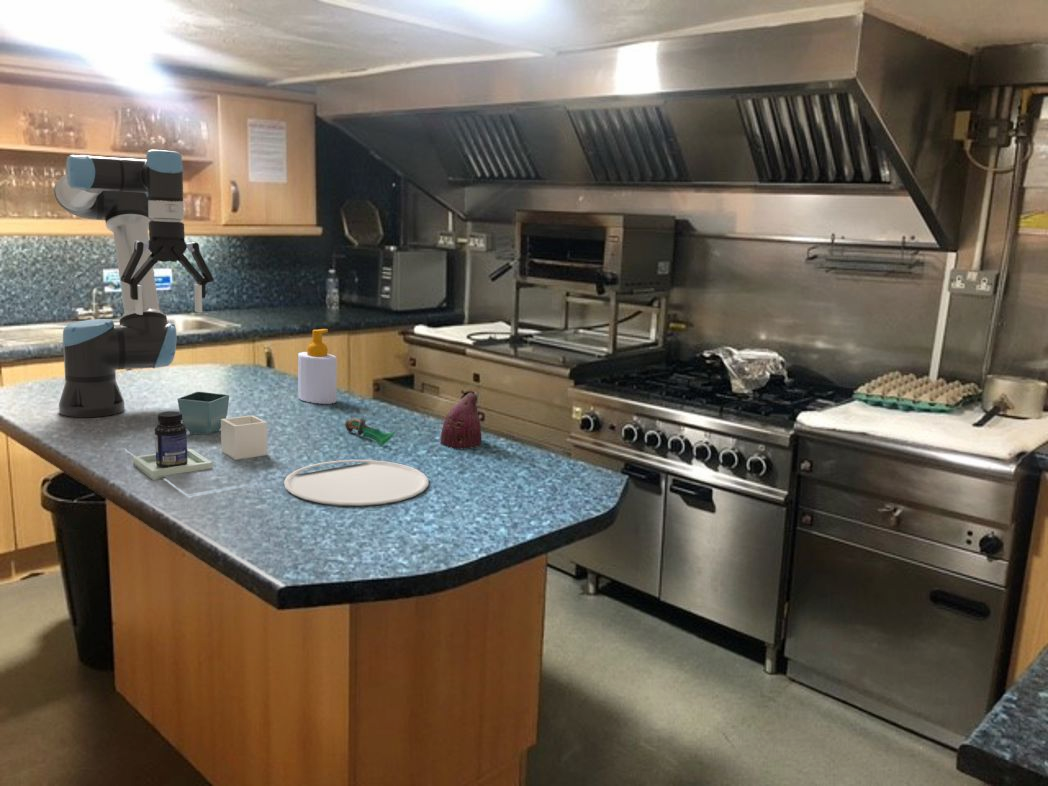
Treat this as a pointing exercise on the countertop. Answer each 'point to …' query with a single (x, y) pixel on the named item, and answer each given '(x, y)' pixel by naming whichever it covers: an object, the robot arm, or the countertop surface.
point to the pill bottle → (170, 440)
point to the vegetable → (462, 424)
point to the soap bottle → (317, 372)
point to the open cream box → (244, 437)
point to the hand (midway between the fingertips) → (169, 313)
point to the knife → (368, 431)
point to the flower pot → (203, 411)
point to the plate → (357, 483)
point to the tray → (154, 472)
